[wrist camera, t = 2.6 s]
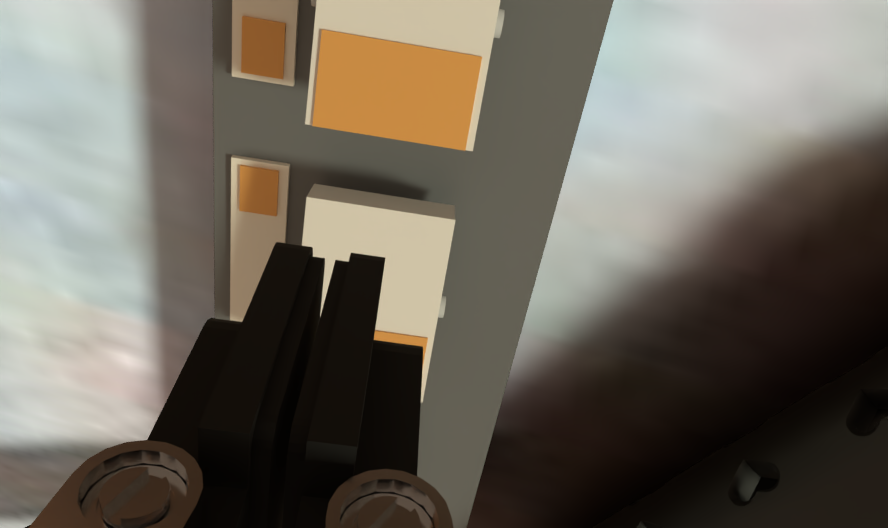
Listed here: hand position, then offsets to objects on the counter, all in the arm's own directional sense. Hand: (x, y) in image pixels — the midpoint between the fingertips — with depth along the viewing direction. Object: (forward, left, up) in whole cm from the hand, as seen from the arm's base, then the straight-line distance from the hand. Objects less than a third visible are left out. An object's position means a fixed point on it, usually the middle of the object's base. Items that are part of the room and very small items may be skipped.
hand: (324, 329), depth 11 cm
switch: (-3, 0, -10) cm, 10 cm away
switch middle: (+6, 0, -10) cm, 12 cm away
